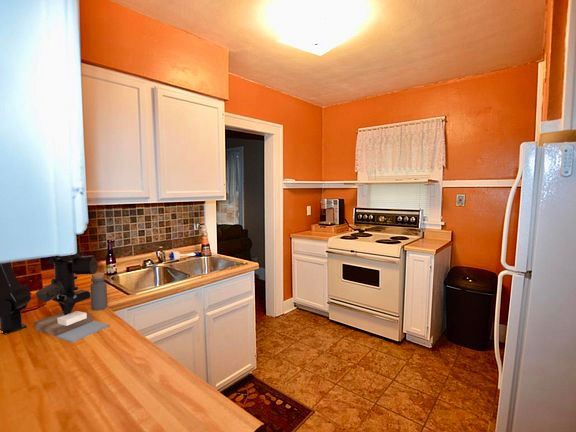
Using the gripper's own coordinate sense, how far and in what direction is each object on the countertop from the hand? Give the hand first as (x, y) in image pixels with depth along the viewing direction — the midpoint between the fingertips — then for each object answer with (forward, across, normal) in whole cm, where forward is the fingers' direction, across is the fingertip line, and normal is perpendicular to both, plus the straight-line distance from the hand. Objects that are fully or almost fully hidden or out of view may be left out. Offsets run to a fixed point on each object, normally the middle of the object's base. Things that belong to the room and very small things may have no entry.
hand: (67, 316), depth 109 cm
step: (+4, -2, 0) cm, 4 cm away
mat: (+4, +9, 0) cm, 10 cm away
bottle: (+4, -6, +17) cm, 19 cm away
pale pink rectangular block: (+1, +3, 0) cm, 3 cm away
